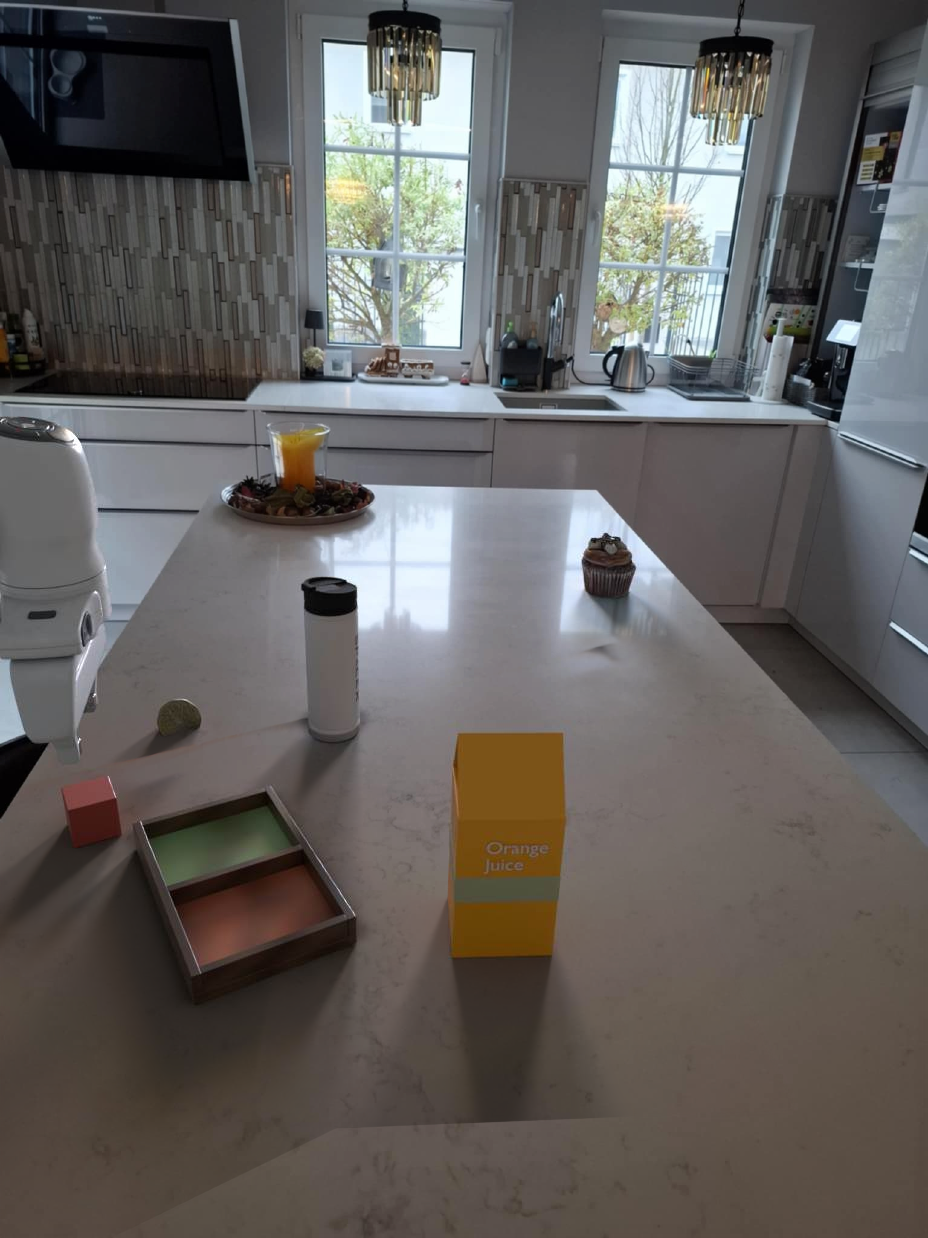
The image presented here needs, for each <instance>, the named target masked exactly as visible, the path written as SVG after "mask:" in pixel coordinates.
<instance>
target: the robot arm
mask: <svg viewBox="0 0 928 1238" xmlns="http://www.w3.org/2000/svg"><path fill="white" fill-rule="evenodd" d="M93 482H94V481H93V478H92V473H91V469H90V465H89V462H88V459H87V456H86V453H85V451H84V447H83V446H82V444H81V442H80V440H79V439H78V438H77V436H76V434H74V433H73V432H72V431H71V430H70V429H68V428H66V427H64V426H61V425H60V424H59V423H56V422H54V421H50V420H46V419H43V418H42V419H41V418H37V417H30V416H0V609H1V616H0V659H1V660H3V661H4V660H5V661H6V660H9V676H10V677H9V678H10V683H11V688H12V692H13V696H14V700H15V704H16V707H17V711H18V714H19V718H20V723H21V725H22V728H23V731H24V733H25V735H26V737H27V738H28V739H29V740H30V741H31V742H32V743H33V744H50V743H51V744H52V746H53V747H54V749H55V751H56V755H57V761H58V763H59V764H61V765H72V764H73V765H75V764H78V763H79V762H80V759H81V757H82V753H83V749H82V743H81V738H78V735H77V731H78V728H79V725H80V723H81V720H82V717H83V714H86V713H89V714H90V713H94V712H95V711H96V708H97V706H98V703H99V700H98V694H97V693H98V692H97V684H98V683H97V682H98V681H97V680H98V670H99V667H100V665H101V662H102V659H103V656H104V653H105V651H106V648H107V647H106V646H107V633H106V627H105V623H106V622H107V621H108V620H109V619H110V618H111V616H112V614H113V608H112V599H111V594H110V586H109V580H108V579H109V578H108V573H107V572H108V571H107V565H106V560H105V558H104V555H103V553H102V551H101V549H100V546H99V543H98V529H99V525H100V516H99V510H98V504H97V503H98V502H97V497H96V493H95V486H94V483H93Z"/></svg>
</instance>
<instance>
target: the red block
mask: <svg viewBox="0 0 928 1238" xmlns="http://www.w3.org/2000/svg"><path fill="white" fill-rule="evenodd" d="M60 788H61V789H60V790H61V794H62V800H63V806H64V807H63V808H64V812H65V817H66V823H67V827H68V830H69V834H70V838H71V842H72V846H73V848H74V849H75V848H79V847H83V846H87V845H90V844H94V843H98V842H100V841H105V840H108V839H112V838H115V837H119V836H122V835H123V831H122V826H121V825H122V824H121V818H120V812H119V805H118V798H117V795H116V793H115V790H114V787H113V784H112V782H111V779H110V776H109V775H105V776H101V777H96V778H93V779H88V780H84V781H80V782H77V783H71V784H67V785H64V786H61V787H60Z"/></svg>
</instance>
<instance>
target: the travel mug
mask: <svg viewBox="0 0 928 1238" xmlns="http://www.w3.org/2000/svg"><path fill="white" fill-rule="evenodd" d="M300 590H301V591H302V592H303V624H304V625H303V626H304V646H305V647H304V648H305V669H306V672H305V673H306V693H307V694H306V695H307V718H308V732H309V734H310V735H311V737H313V738H314V739H315V740H318V741H320V742H325V743H340V742H341V743H342V742H346V741H348V740H350V739H352V738H355V736H357V734H358V733H359V731H360V728H361V724H360V723H361V722H360V721H361V720H360V717H361V715H360V660H359V659H360V652H359V650H360V649H359V647H360V646H359V605H358V587H357V585H356V584H353V583H351V582H348V581H347V579H344V578H342V577H334V576H314V577H309V578H306V579H305V580H303V582H302V583H301V584H300Z"/></svg>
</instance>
